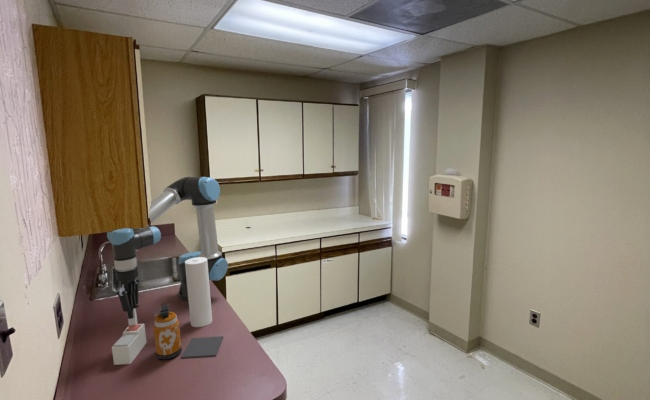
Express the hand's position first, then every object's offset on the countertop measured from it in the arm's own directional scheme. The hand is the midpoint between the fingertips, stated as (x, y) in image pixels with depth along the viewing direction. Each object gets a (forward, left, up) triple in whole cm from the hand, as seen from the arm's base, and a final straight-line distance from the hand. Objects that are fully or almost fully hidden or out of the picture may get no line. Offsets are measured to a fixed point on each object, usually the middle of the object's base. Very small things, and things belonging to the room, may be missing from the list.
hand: (133, 324), depth 139 cm
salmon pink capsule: (0, 0, -8) cm, 8 cm away
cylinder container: (-18, +21, -10) cm, 30 cm away
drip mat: (+3, +28, -10) cm, 29 cm away
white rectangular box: (+4, 0, -10) cm, 11 cm away
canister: (+5, +15, -10) cm, 19 cm away
